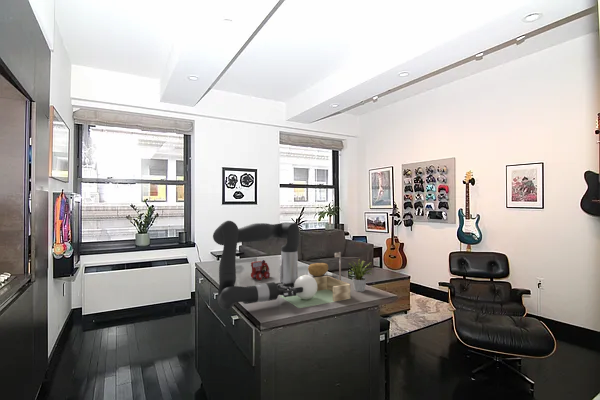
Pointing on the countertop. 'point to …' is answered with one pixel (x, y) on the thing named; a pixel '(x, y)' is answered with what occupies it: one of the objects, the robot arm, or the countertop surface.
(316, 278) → the wooden u-shaped frame
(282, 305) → the countertop surface
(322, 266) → the potato
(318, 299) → the green mat
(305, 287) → the ball
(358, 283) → the house plant
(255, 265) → the toy fire truck
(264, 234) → the robot arm
